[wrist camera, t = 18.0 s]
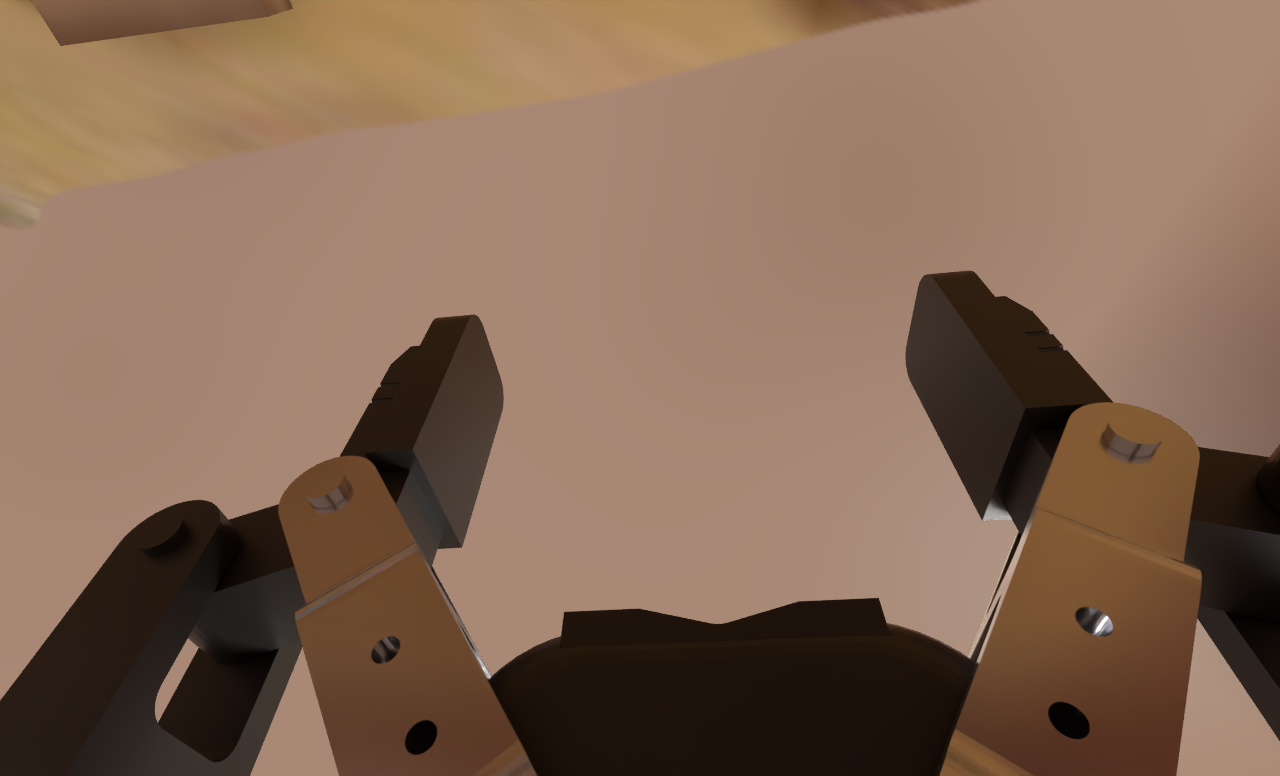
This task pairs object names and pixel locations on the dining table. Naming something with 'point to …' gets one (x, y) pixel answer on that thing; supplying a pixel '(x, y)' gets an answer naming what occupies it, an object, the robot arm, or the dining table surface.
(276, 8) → the walnut stand
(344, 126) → the dining table surface
